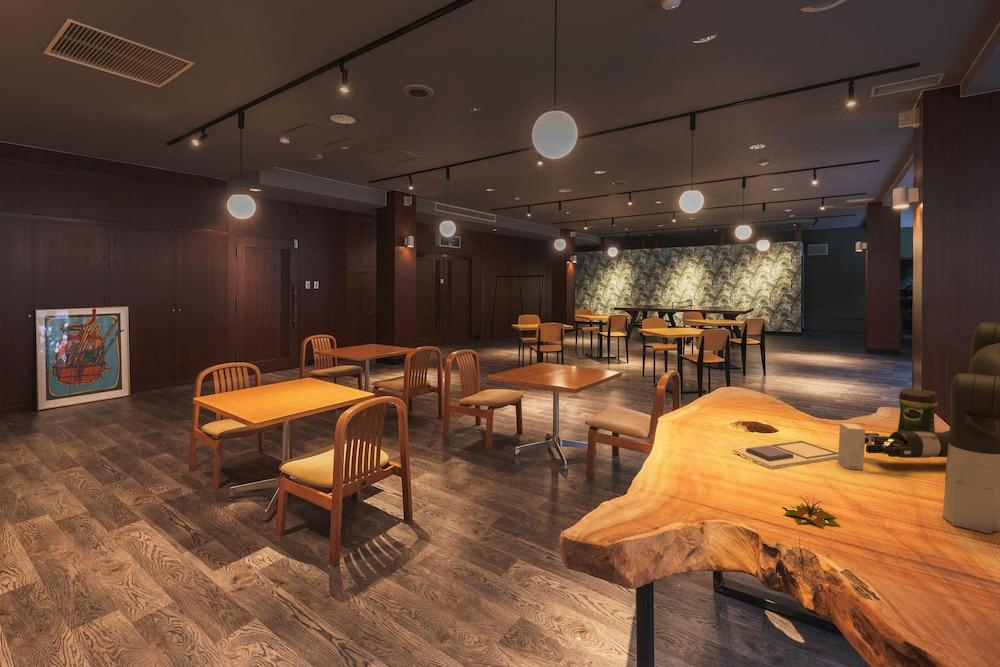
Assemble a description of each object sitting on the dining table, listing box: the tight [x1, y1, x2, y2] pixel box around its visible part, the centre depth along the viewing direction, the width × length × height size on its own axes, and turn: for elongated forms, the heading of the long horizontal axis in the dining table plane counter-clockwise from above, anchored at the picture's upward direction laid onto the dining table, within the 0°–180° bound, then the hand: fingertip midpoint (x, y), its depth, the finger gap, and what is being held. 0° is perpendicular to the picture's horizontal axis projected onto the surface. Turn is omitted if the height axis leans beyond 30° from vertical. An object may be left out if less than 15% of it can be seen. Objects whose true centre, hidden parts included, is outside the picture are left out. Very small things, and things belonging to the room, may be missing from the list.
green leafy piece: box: [783, 496, 841, 530], centre depth 112 cm, size 12×12×5 cm
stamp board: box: [731, 440, 838, 468], centre depth 152 cm, size 28×15×2 cm, turn 107°
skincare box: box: [837, 422, 866, 470], centre depth 143 cm, size 6×4×12 cm
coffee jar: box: [896, 387, 939, 432], centre depth 160 cm, size 10×8×19 cm
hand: (856, 444), depth 142 cm, fingers open, 8 cm apart
